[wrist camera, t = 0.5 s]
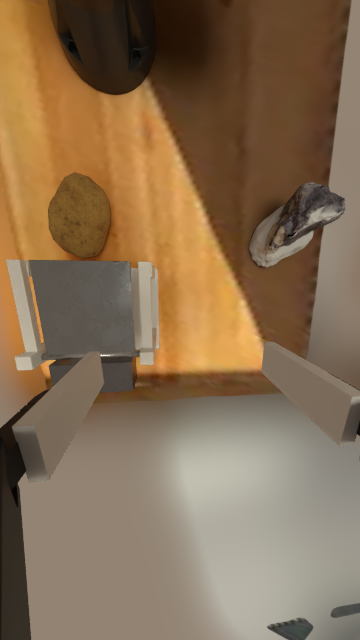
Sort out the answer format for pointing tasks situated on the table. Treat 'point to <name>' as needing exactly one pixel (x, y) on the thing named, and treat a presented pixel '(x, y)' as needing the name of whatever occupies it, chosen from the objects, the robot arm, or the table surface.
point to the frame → (143, 313)
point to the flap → (87, 317)
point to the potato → (79, 216)
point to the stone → (294, 223)
